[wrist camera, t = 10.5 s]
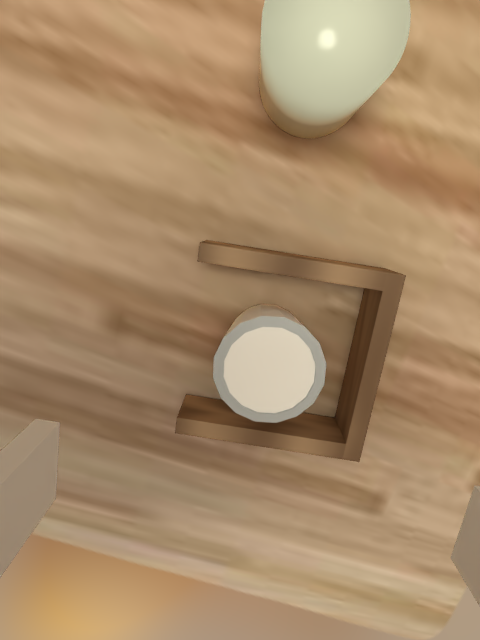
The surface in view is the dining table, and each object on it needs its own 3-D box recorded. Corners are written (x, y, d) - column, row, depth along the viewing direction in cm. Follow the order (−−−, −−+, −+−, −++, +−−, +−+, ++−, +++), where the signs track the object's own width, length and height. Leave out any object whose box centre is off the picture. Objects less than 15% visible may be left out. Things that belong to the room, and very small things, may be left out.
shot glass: (256, 277, 30) (258, 292, 23) (329, 331, 31) (350, 361, 24) (203, 348, 32) (189, 382, 25) (273, 398, 32) (279, 444, 26)
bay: (184, 408, 33) (175, 432, 29) (206, 240, 30) (199, 242, 26) (346, 433, 33) (359, 461, 29) (385, 268, 30) (406, 275, 26)
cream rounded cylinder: (251, 129, 28) (250, 93, 20) (268, 13, 26) (275, -75, 19) (352, 146, 28) (390, 116, 20) (375, 31, 26) (427, -50, 19)
